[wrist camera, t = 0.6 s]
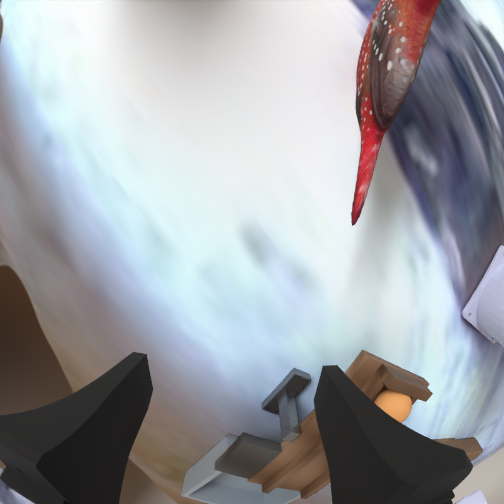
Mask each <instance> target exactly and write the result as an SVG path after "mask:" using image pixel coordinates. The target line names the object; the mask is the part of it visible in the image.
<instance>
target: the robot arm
mask: <svg viewBox="0 0 504 504" xmlns="http://www.w3.org/2000/svg"><path fill="white" fill-rule="evenodd" d="M462 316H463V317H464V318H465V319H466V320H467V321H468V322H470V323H471V324H472V325H473V326H474V327H475V328H476V329H477V330H479V331H480V332H481V333H482V334H483V335H484V336H485V337H486V338H487V339H489V340H490V341H491V342H492V343H493V344H494V343H496V342H499V343H500V344H501V345H502V346H503V347H504V246H502V245H501V246H500V247H499V248H498V250H497V252H496V254H495V256H494V258H493V260H492V262H491V264H490V266H489V268H488V270H487V271H486V273H485V275H484V277H483V279H482V280H481V282H480V284H479V285H478V287H477V289H476V290H475V292H474V294H473V295H472V297H471V299H470V300H469V302H468V303H467V305H466V306H465V308H464V309H463V311H462ZM152 392H153V386H152V381H151V376H150V371H149V365H148V359H147V354H142V353H136V352H133V353H131V354H130V355H129V356H127V357H126V358H125V359H123V360H122V361H121V362H119V363H118V364H117V365H116V366H114V367H113V368H112V369H110V370H109V371H107V372H106V373H105V374H103V375H102V376H101V377H99V378H98V379H96V380H95V381H93V382H92V383H90V384H88V385H87V386H85V387H84V388H82V389H80V390H79V391H77V392H75V393H73V394H71V395H69V396H67V397H65V398H63V399H61V400H59V401H56V402H54V403H51V404H48V405H46V406H43V407H40V408H37V409H34V410H29V411H25V412H21V413H15V414H9V415H0V460H1V461H2V462H3V463H4V464H5V465H6V468H5V469H4V470H3V469H2V468H0V504H119V499H120V493H121V487H122V482H123V478H124V473H125V469H126V465H127V461H128V457H129V454H130V451H131V448H132V445H133V443H134V441H135V438H136V436H137V434H138V431H139V429H140V426H141V424H142V422H143V419H144V417H145V415H146V412H147V410H148V407H149V403H150V399H151V396H152ZM314 406H315V414H316V421H317V425H318V428H319V432H320V436H321V440H322V443H323V447H324V451H325V455H326V458H327V462H328V467H329V474H330V482H331V491H332V503H333V504H453V503H452V500H451V499H453V498H454V496H455V495H454V493H453V491H452V490H453V489H454V488H455V487H457V486H458V485H459V484H460V483H461V482H462V481H463V480H464V479H465V478H466V477H467V476H468V475H469V473H470V472H471V470H472V468H473V465H472V463H471V461H470V459H469V458H468V456H467V454H466V453H465V451H464V450H462V449H459V448H455V447H452V446H448V445H445V444H442V443H439V442H437V441H434V440H432V439H430V438H427V437H425V436H423V435H421V434H419V433H417V432H415V431H413V430H412V429H410V428H408V427H406V426H405V425H403V424H402V423H400V422H399V421H397V420H396V419H394V418H393V417H391V416H390V415H389V414H387V413H386V412H385V411H383V410H382V409H381V408H380V407H379V406H377V405H376V404H375V403H374V402H373V401H372V400H371V399H370V398H368V397H367V396H366V395H365V394H364V393H363V392H362V391H361V390H360V389H359V388H358V387H357V386H356V385H355V384H354V383H353V382H352V381H351V380H350V378H349V377H348V376H347V375H346V374H345V373H344V372H343V371H342V370H341V369H340V368H339V367H338V366H337V365H332V366H323V368H322V372H321V376H320V379H319V383H318V387H317V390H316V394H315V398H314ZM455 504H487V502H486V499H485V497H484V496H483V494H482V492H481V490H477V491H475V492H474V493H472V494H470V495H468V496H467V497H465V498H463V499H461V500H459V501H458V502H456V503H455Z"/></svg>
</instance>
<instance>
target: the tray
mask: <svg viewBox="0 0 504 504" xmlns="http://www.w3.org/2000/svg"><path fill="white" fill-rule="evenodd" d="M237 438H238V437H237V436H234V435H231V434H227V435H226V436H225V437H224V438H223V439H222V440H221V441H220V442H219V443H218V444H217V445H216V446H215V447H214V448H212V449H211V450H210V451H209V452H208V453H207V454H206V455H205V456H204V457H203V458H201V459H200V460H199V461H198V462H197V463H196V464H195V465H194V466H192V467H191V468H190V469H189V470H188V471H187V472H186V474H185V479H184V485H183V490H182V495H181V496H185V497H188V498H191V499H195V500H198V501H202V502H205V503H209V504H288V503H290V502H292V501H294V500H296V499H298V498H300V497H301V495H300V491H296V490H289V489H282V488H275V489H274V490H272V491H271V492H270V493H268V494H267V493H262V485H261V484H256V483H251V482H247V478H242V477H238V476H235V475H231V474H227V473H224V472H220V471H217V470H214V469H215V461H216V460H217V459H218V458H219V457H220V456H221V455H222V454H223V453H224V452H225V451H226V450H227V449H228V448H229V447H230V446H231V445H232V444H233V443H234V442H235V441H236V439H237Z"/></svg>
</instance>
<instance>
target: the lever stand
mask: <svg viewBox="0 0 504 504" xmlns="http://www.w3.org/2000/svg"><path fill="white" fill-rule="evenodd" d="M310 380H311V379H310V375H309V374H308V373H305V372H303V371H300V370H298V369H296V368H293V369H292V371H291V372H290V373H289V374H288V375H287V376H286V377H285V379H284V380H283V381H282V382H281V383H280V384H279V385H278V386H277V387H276V389H275V390H274V391H273V392H272V393H271V394H270V395H269V396H268V397H267V398H266V399H265V400H264V402H263V403H262V409H263V410H266V411H268V412H271V413H274V414H278V413H279V415H280V426H281V436H282V440H284V441H288V442H291V441H293V440H294V439H295V438H296V437H297V436H299V435H300V430H299V423H298V417H297V411H296V405H295V399H294V397H295V396H296V395H297V394H298V393H299V392H300V391H301V390H302V389H303V388H304V387H305V386H306V385H307V384H308V383H309V381H310Z"/></svg>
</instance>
